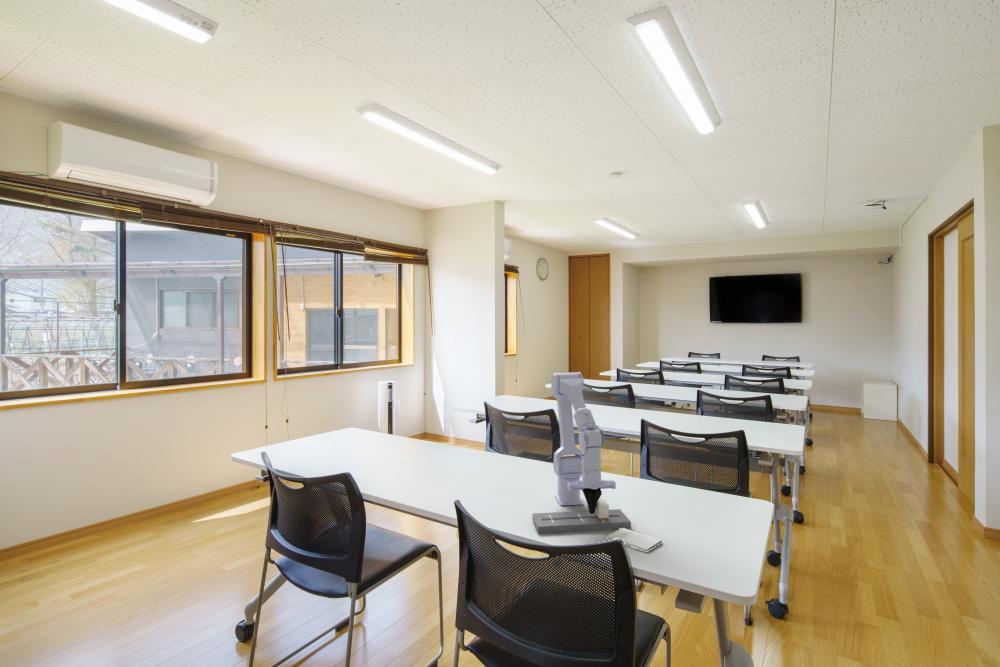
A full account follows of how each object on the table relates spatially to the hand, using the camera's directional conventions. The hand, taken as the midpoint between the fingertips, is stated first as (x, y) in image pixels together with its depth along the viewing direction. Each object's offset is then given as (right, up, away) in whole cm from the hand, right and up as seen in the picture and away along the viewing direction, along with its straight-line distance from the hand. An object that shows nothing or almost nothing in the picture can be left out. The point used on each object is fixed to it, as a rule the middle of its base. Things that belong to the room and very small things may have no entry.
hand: (591, 512), depth 156 cm
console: (-3, -4, 0) cm, 5 cm away
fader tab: (+3, -1, 0) cm, 3 cm away
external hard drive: (+10, -5, -12) cm, 16 cm away
